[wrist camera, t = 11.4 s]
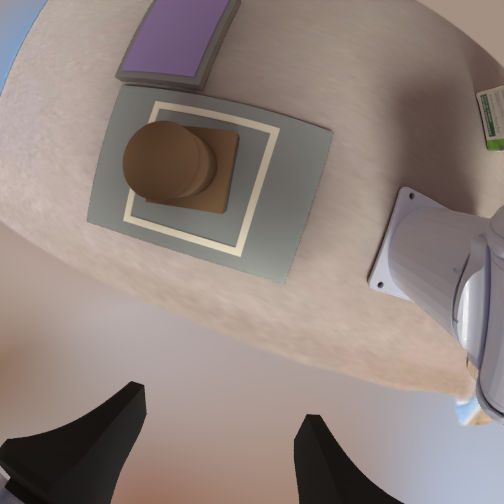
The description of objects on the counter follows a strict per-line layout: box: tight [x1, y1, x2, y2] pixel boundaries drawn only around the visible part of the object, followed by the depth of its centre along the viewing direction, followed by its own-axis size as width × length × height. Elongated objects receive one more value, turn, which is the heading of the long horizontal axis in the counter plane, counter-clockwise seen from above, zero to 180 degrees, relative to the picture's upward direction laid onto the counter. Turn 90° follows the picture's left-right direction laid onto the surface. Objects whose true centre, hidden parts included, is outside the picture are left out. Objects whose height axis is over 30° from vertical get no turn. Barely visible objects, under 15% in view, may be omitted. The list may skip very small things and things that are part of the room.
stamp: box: [123, 121, 240, 214], centre depth 14 cm, size 5×5×7 cm
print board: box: [87, 85, 334, 284], centre depth 18 cm, size 16×11×1 cm
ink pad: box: [115, 0, 241, 91], centre depth 15 cm, size 7×9×1 cm
